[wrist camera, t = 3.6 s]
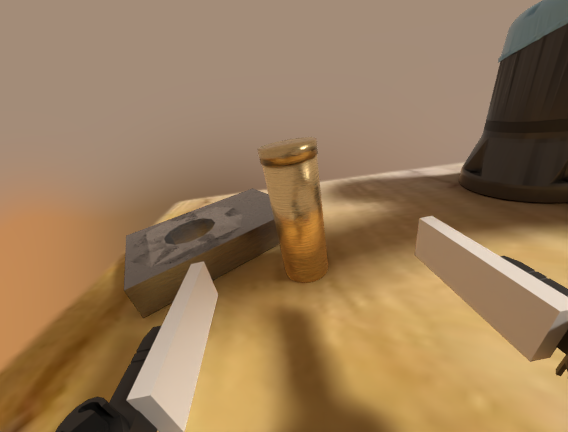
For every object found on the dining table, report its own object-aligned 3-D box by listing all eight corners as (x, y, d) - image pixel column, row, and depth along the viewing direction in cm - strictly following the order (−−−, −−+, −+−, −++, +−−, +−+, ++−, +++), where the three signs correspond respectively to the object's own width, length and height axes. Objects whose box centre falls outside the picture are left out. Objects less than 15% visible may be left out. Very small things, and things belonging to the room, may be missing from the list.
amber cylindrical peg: (308, 248, 28) (292, 137, 22) (338, 266, 24) (329, 136, 18) (276, 267, 25) (247, 150, 19) (303, 291, 21) (278, 152, 15)
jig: (257, 206, 44) (252, 188, 42) (303, 230, 32) (299, 206, 30) (138, 256, 34) (126, 235, 32) (143, 318, 22) (123, 290, 20)
